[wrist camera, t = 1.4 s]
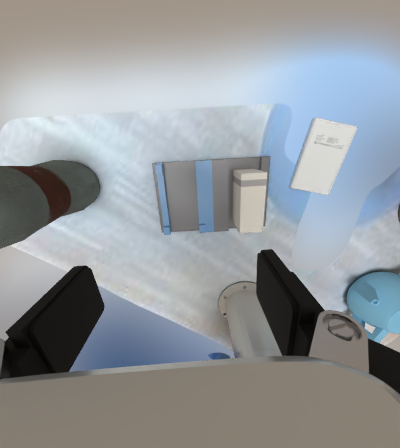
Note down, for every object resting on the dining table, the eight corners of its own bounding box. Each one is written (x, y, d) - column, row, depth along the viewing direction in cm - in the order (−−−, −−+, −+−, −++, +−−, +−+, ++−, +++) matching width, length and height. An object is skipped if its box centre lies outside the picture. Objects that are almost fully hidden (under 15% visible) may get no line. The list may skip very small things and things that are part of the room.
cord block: (251, 218, 38) (263, 231, 32) (232, 219, 38) (239, 233, 32) (253, 168, 35) (267, 172, 28) (232, 169, 35) (241, 174, 28)
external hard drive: (287, 186, 38) (311, 118, 33) (324, 193, 38) (352, 128, 34) (291, 188, 36) (316, 117, 32) (329, 195, 37) (359, 127, 32)
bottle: (56, 203, 37) (-371, 357, 9) (50, 155, 34) (-640, 166, 6) (104, 209, 38) (-156, 371, 10) (102, 163, 35) (-289, 209, 7)
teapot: (340, 272, 45) (381, 306, 35) (404, 258, 44) (466, 290, 34) (338, 316, 51) (373, 357, 40) (395, 306, 49) (446, 345, 39)
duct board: (263, 224, 40) (268, 229, 37) (162, 230, 40) (160, 236, 37) (268, 156, 35) (274, 156, 32) (153, 163, 35) (149, 164, 32)
